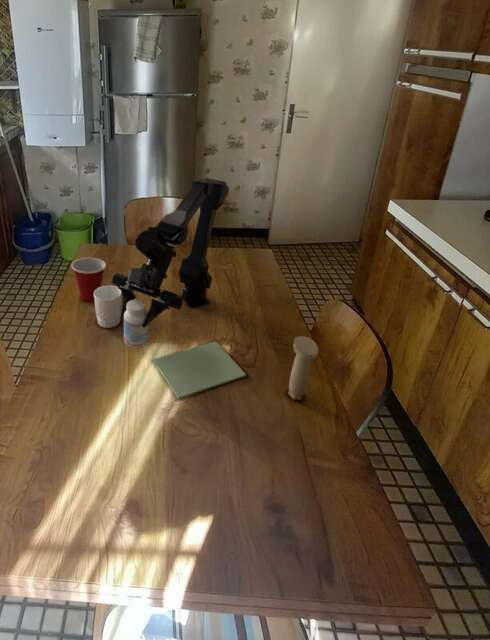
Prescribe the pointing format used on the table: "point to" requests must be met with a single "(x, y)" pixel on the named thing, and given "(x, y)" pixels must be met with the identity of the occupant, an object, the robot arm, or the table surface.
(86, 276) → the plastic cup
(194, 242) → the robot arm
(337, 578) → the table surface
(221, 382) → the mat
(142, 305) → the pill bottle
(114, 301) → the white cup
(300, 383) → the handle
